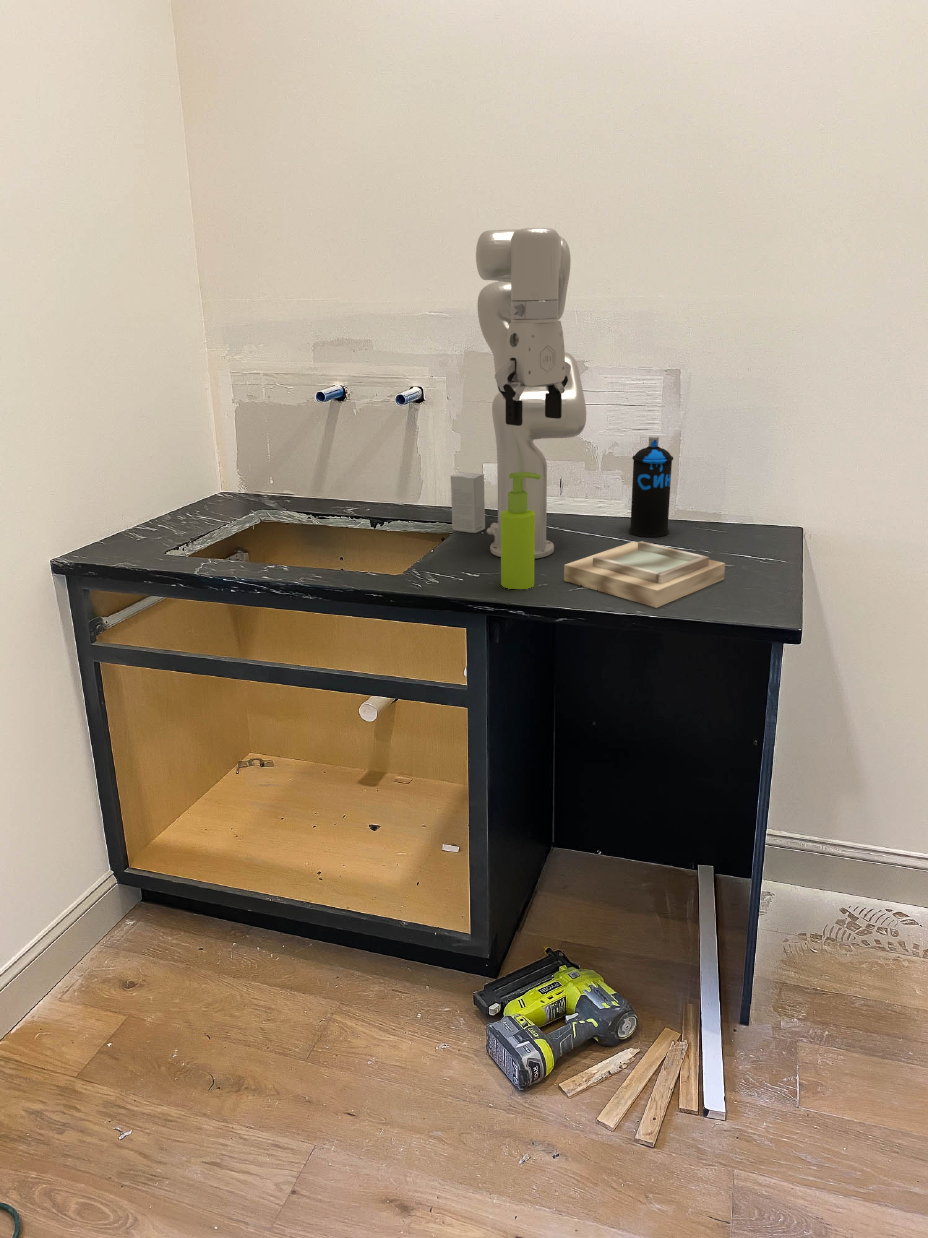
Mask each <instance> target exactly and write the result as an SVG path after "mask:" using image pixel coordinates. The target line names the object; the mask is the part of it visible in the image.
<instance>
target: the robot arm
mask: <svg viewBox="0 0 928 1238" xmlns="http://www.w3.org/2000/svg"><path fill="white" fill-rule="evenodd" d="M476 243H477V244H476V248H475V249H476V250H475V263H476V269H477V273H478V275H479V277H480V279H482V280H483V281H494V282H492V283H489V284H487V285H485V286H484V287H483V288H482V289H480V291H479V294H478V297H477V305H476V306H477V307H476V308H477V317H478V322H479V326H480V330H481V333H482V336H483V338H484V340H485V342H486V344H487V345H488V347H489V349H490V351H491V353H492V355H493V363H494V372H495V373H494V379H495V380H496V381H495V383H496V387H497V390H498V393H497V394H496V395H495V396H494V398H493V400H492V405H491V414H492V415H491V417H492V422H493V428H494V435H495V443H496V462H497V463H496V468H497V472H496V473H497V522H492V523H491V524H490V527H487V529H486V534H487V535H491V536H494V541H493V542H491V544H490V546H489V548H490V549H489V550H490V553H491V554H493V556H496V557H499V558H501V512H502V511H505V510H508V492H510V491H511V490H513V478H510V479H509V474H510V473H515V472H531V473H536V474H539V475H542V476H541V478H540V479H539V480H537V479H532V478H523V490H524V491H525V492H527V493H528V510H531V511H534V512H535V559H541V558H545V557H548V556H550V555H551V554H553V553H554V551H555V544H554V543H553V542H552V541H550V540H548V539H547V513H548V512H547V509H548V508H547V506H548V505H547V504H548V503H547V502H548V501H547V500H548V498H547V496H548V491H547V490H548V488H547V487H548V464H547V463H548V462H547V460H546V457H545V455H544V453H542V451H541V450H540V449H539V448H538V447H537V446H536V444H535V443H534V441H535V440H543V439H567V438H568V439H569V438H573V437H578V436H579V435H580V434H582V432H583V431H584V428H585V426H586V422H587V406H586V405H587V404H586V399H585V395H584V389H583V385H582V380H581V375H580V371H579V367H578V366H579V365H578V363H577V361H576V358H575V357H574V356H573V355H572V354H571V353H568V352H566V349H565V340H564V339H565V338H564V333H563V332H564V331H563V326H562V321H561V320H560V319H561V318H562V317H563V314H564V311H565V307H566V299H567V292H568V287H569V280H570V274H571V263H572V262H571V261H572V260H571V251H570V247H569V244H568V242H567V240H565V238H564V237H562V236H561V235H560V234H559V233H558V231H556V229H554V228H550V227H527V228H525V227H524V228H518V229H490V230H485V231H483V232H482V233H481V234H480V235H479V236H478V239H477V242H476Z"/></svg>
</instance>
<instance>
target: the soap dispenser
mask: <svg viewBox="0 0 928 1238" xmlns="http://www.w3.org/2000/svg"><path fill="white" fill-rule="evenodd" d="M541 476H542V475H539V474H536V473H531V472H515V473H510V474H509V479H510V478H513V490H511V491H510V492H508V510H505V511H502V512H501V557H500V585H502V586H503V587H506V588H508V589H507V590H509V589H526V590H529V589H528V588H530V589H532V588H533V587H534V586H535V565H536V564H535V512H534V511H531V510H528V493H527V492H525V491H524V490H523V478H532V479H537V480H539V479H540V478H541ZM502 586H501V587H502ZM503 587H502V588H503ZM531 587H532V588H531Z"/></svg>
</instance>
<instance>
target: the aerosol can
mask: <svg viewBox="0 0 928 1238" xmlns="http://www.w3.org/2000/svg"><path fill="white" fill-rule="evenodd" d="M659 437H660V436H658V435H650V436H648V446H646V447H644V448H641V449H640V450H638V451H637V452H636V453H635V454H634V455H632V460H633V462H632V463H633V464H632V465H633V466H632V467H633V468H632V483H631V485H632V489H631V507H630V508H631V509H630V510H631V511H630V528H629V530H628V531H629V533H630V534H631V535H632V536H636V537H641V538H659V537H660V538H661V537H665V536H667V535H668V534H669V533H670V531H669V513H670V499H671V498H670V497H671V480H672V479H671V478H672V467H673V466H672V464H673V463H672V462H673V460H674V457H673V456H672V455H671V453H670V452H669V451H668V450H666V449H665V448H661V447H660V446H659V441H660V438H659ZM664 535H665V536H664Z"/></svg>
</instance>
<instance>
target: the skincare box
mask: <svg viewBox="0 0 928 1238" xmlns="http://www.w3.org/2000/svg"><path fill="white" fill-rule="evenodd" d="M450 493H451V495H450V496H451V522H452V523H451V525H452V526H451V527H452V529H451V530H452V531H457V532H463V533H464V532H465V533H470V534H471V533H472V534H477V533H479V532H481V531H483V530H485V529H486V512H485V511H486V508H485V507H486V506H485V503H486V502H485V475H484V474H483V473H482V474H481V473H473V472H462V471H460V472H457V473H455V474H452V475H450Z"/></svg>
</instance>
